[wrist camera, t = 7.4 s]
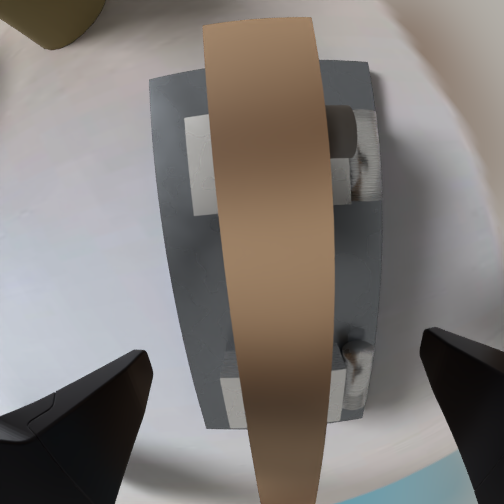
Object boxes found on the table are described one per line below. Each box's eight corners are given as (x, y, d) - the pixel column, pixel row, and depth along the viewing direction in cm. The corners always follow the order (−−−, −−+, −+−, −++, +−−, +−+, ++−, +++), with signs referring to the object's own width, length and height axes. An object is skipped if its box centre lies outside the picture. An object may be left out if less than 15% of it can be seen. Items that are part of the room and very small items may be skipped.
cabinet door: (320, 404, 17) (338, 507, 10) (265, 409, 18) (262, 514, 10) (312, 95, 13) (361, 20, 5) (236, 100, 13) (202, 25, 5)
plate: (359, 408, 19) (370, 443, 15) (208, 419, 19) (200, 454, 16) (362, 67, 13) (385, 45, 9) (155, 84, 14) (129, 65, 10)
